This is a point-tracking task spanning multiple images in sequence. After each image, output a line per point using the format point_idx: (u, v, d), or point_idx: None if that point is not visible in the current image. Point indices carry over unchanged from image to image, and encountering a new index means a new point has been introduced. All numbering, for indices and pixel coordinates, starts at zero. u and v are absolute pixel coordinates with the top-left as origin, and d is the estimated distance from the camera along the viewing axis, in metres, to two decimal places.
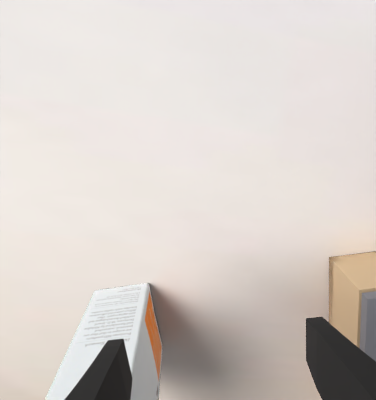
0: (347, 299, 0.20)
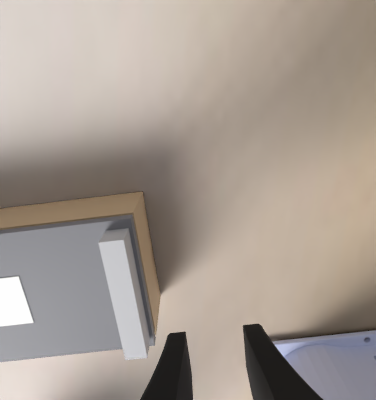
0: None
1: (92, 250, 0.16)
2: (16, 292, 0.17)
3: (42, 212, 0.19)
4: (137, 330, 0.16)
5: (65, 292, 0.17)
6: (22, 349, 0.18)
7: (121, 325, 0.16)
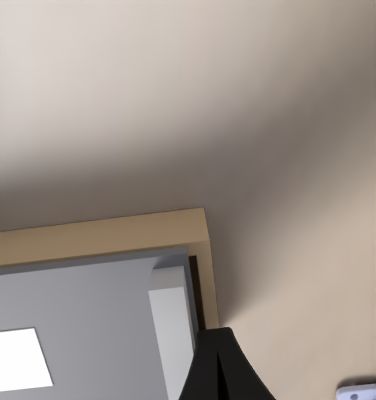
0: None
1: (133, 294, 0.12)
2: (30, 347, 0.13)
3: (82, 236, 0.15)
4: None
5: (95, 347, 0.13)
6: None
7: (173, 396, 0.12)
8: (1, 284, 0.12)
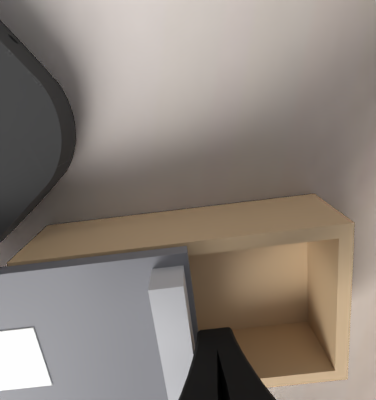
0: None
1: (133, 294, 0.12)
2: (29, 346, 0.13)
3: (205, 221, 0.14)
4: None
5: (95, 347, 0.13)
6: None
7: (173, 396, 0.12)
8: (0, 283, 0.12)
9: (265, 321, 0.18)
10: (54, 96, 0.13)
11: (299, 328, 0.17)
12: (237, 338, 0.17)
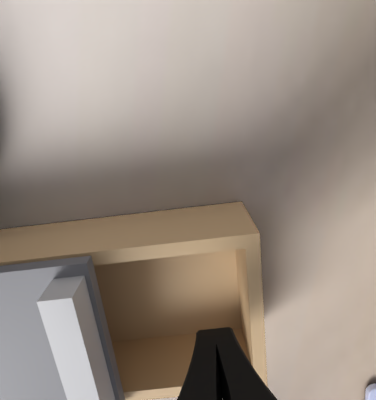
0: None
1: (36, 304, 0.12)
2: None
3: (123, 229, 0.14)
4: None
5: (4, 356, 0.13)
6: None
7: None
8: None
9: (198, 328, 0.18)
10: None
11: None
12: (169, 345, 0.17)
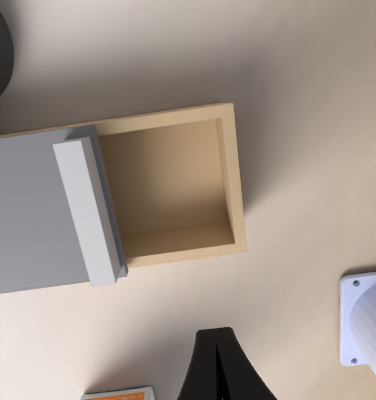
0: None
1: (51, 164, 0.15)
2: None
3: (121, 118, 0.17)
4: (102, 251, 0.15)
5: (25, 214, 0.16)
6: None
7: (84, 245, 0.15)
8: None
9: (189, 221, 0.21)
10: None
11: (218, 224, 0.20)
12: (164, 233, 0.20)
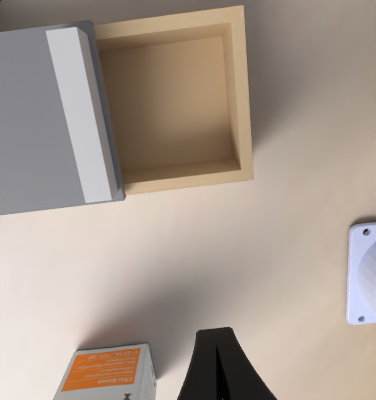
0: None
1: (44, 66, 0.14)
2: None
3: None
4: (98, 160, 0.14)
5: (15, 125, 0.14)
6: None
7: (79, 153, 0.14)
8: None
9: (192, 157, 0.19)
10: None
11: (222, 160, 0.19)
12: (164, 168, 0.19)
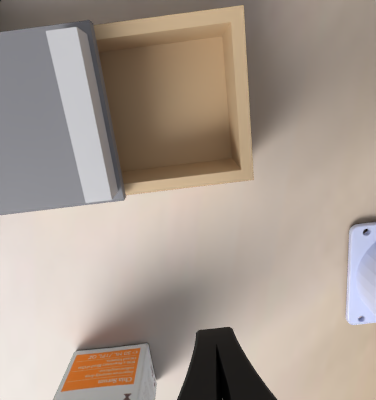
0: None
1: (44, 66, 0.14)
2: None
3: None
4: (98, 160, 0.14)
5: (15, 125, 0.14)
6: None
7: (79, 153, 0.14)
8: None
9: (192, 157, 0.19)
10: None
11: (222, 160, 0.19)
12: (164, 168, 0.19)
